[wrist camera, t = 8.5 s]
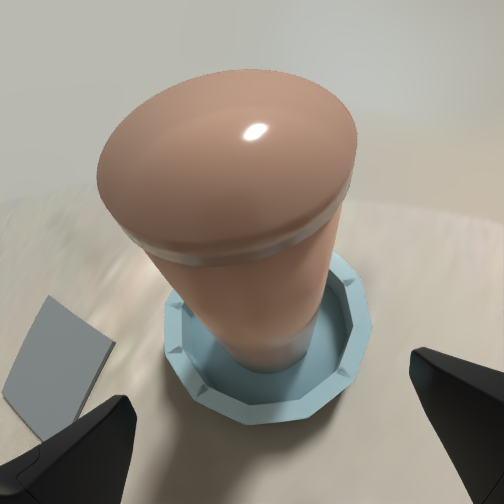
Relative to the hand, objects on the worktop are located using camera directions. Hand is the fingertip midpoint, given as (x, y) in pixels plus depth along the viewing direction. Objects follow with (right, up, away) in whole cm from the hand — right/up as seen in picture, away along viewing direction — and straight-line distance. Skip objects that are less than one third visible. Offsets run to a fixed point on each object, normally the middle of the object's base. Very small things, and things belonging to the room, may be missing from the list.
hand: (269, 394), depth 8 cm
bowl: (0, -1, +10) cm, 10 cm away
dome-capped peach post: (0, 0, +9) cm, 9 cm away
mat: (-15, -5, +10) cm, 19 cm away
